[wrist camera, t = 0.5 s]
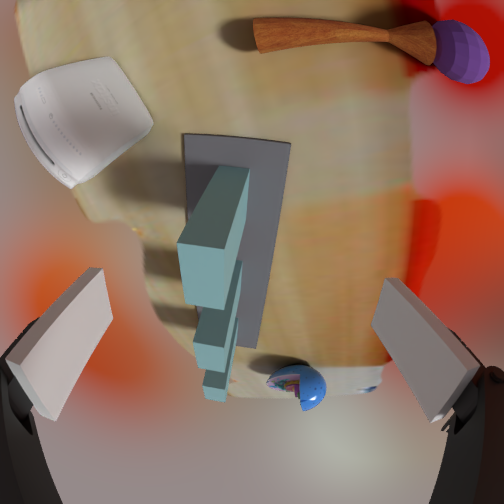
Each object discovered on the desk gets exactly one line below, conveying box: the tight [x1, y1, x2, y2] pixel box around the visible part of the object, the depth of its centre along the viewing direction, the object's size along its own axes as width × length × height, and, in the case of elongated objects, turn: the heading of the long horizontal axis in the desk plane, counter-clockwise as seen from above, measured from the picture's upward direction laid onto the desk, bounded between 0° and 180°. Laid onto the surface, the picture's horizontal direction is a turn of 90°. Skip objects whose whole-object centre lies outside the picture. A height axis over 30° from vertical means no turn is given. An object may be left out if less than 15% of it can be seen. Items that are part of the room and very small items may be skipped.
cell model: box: [266, 365, 326, 411], centre depth 48 cm, size 10×12×10 cm
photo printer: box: [14, 57, 154, 189], centre depth 17 cm, size 10×4×12 cm, turn 27°
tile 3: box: [202, 317, 238, 402], centre depth 38 cm, size 6×3×12 cm, turn 175°
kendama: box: [253, 18, 490, 84], centre depth 14 cm, size 6×6×20 cm
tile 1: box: [177, 166, 250, 310], centre depth 23 cm, size 6×3×12 cm, turn 175°
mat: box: [184, 134, 291, 349], centre depth 35 cm, size 36×10×1 cm, turn 175°
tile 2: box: [193, 260, 243, 373], centre depth 31 cm, size 6×3×12 cm, turn 175°
